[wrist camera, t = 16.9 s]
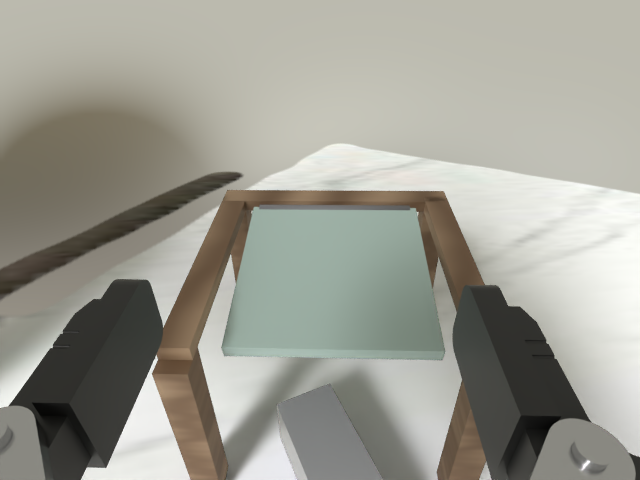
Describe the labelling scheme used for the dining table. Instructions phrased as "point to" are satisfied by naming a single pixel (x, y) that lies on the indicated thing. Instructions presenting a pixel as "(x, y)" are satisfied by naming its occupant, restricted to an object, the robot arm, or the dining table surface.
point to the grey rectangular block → (323, 439)
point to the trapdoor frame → (208, 268)
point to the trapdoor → (334, 285)
